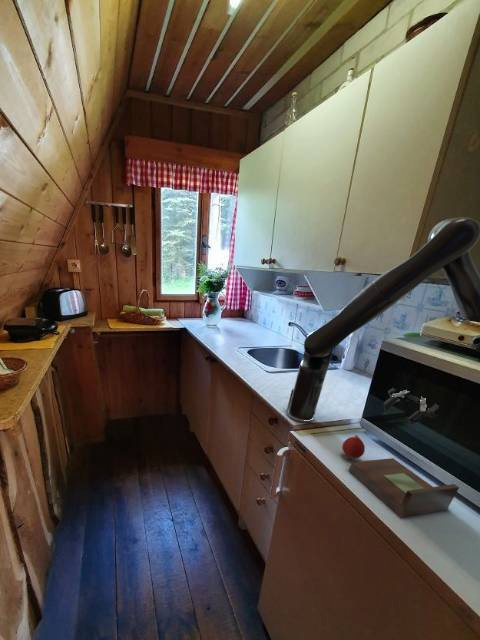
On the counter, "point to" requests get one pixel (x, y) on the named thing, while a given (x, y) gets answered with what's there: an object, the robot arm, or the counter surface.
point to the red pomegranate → (353, 447)
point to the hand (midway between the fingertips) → (396, 414)
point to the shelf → (402, 487)
